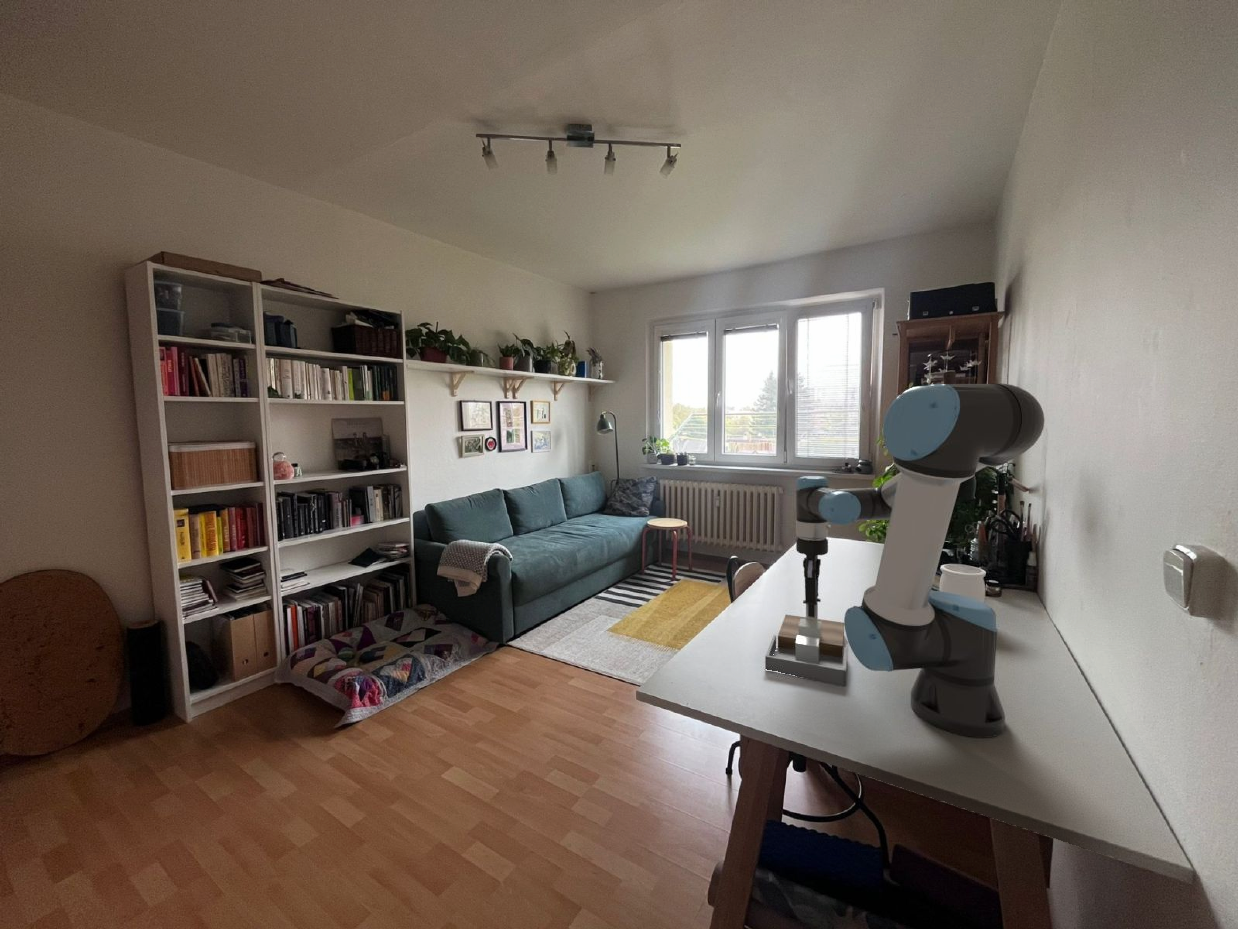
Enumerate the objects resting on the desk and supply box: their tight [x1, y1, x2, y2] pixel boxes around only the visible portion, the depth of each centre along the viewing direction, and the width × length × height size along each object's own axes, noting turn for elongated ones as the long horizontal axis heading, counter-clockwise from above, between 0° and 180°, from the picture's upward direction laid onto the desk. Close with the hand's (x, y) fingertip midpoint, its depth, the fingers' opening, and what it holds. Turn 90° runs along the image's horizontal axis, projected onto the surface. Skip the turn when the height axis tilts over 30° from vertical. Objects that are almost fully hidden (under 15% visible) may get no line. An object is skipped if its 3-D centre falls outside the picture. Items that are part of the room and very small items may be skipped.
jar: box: [939, 563, 987, 603], centre depth 138 cm, size 11×10×15 cm
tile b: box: [799, 619, 822, 643], centre depth 123 cm, size 5×5×4 cm
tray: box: [764, 634, 848, 687], centre depth 115 cm, size 12×17×4 cm
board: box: [777, 614, 845, 658], centre depth 128 cm, size 15×15×4 cm
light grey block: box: [795, 635, 819, 664], centre depth 116 cm, size 5×5×4 cm
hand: (811, 627), depth 126 cm, fingers closed
